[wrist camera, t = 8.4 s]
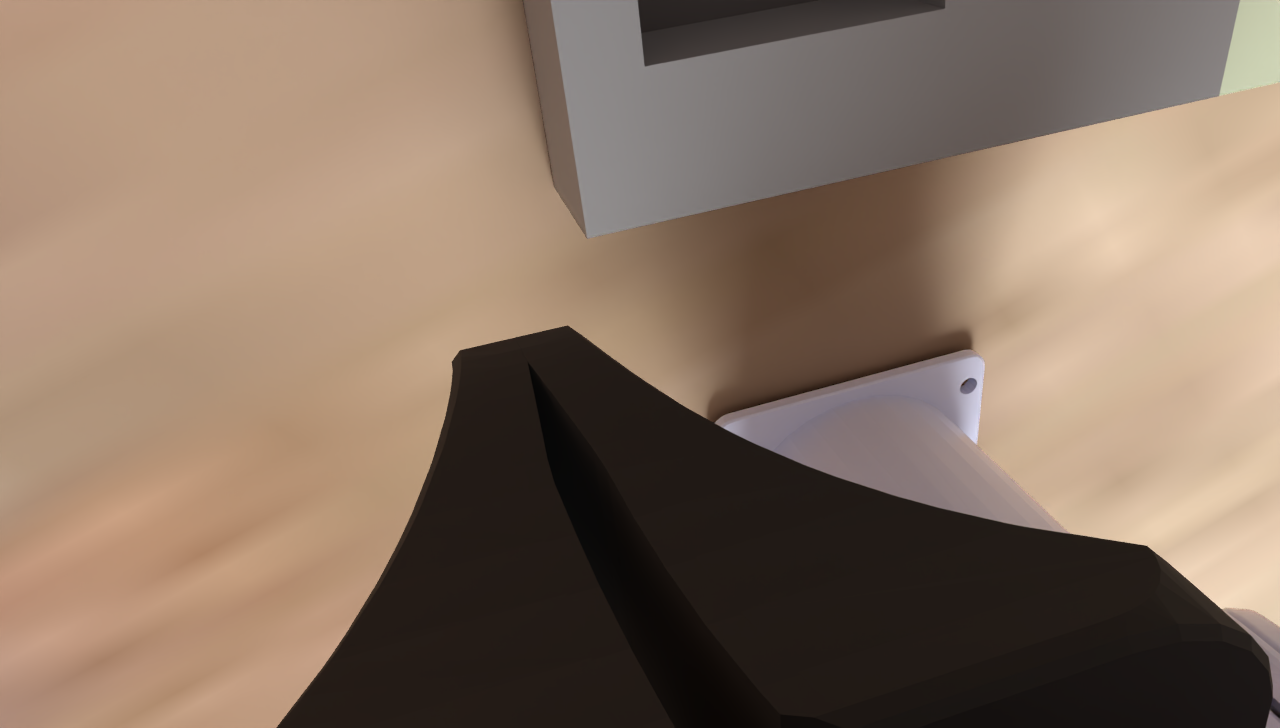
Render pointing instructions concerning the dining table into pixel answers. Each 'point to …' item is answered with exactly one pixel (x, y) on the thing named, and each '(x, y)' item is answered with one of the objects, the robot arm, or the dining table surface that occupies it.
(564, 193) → the trap deck
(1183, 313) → the dining table surface
